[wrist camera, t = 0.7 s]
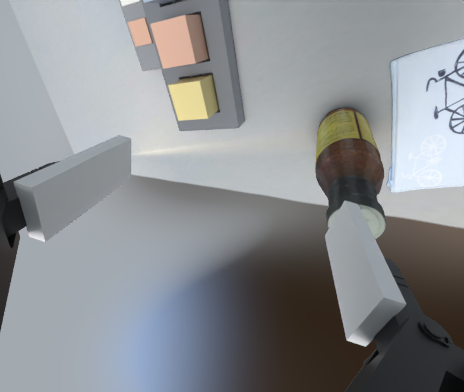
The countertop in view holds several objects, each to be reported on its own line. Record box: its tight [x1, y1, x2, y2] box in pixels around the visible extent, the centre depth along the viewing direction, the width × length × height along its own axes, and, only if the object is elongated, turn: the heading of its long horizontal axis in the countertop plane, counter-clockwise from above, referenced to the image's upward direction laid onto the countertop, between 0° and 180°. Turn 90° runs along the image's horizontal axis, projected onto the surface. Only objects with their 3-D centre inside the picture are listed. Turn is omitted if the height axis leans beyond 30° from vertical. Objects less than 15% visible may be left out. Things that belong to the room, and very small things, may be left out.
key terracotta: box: [150, 15, 209, 69], centre depth 29 cm, size 5×5×4 cm
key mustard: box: [168, 75, 219, 121], centre depth 33 cm, size 5×5×4 cm
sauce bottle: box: [315, 108, 386, 239], centre depth 26 cm, size 7×6×20 cm
